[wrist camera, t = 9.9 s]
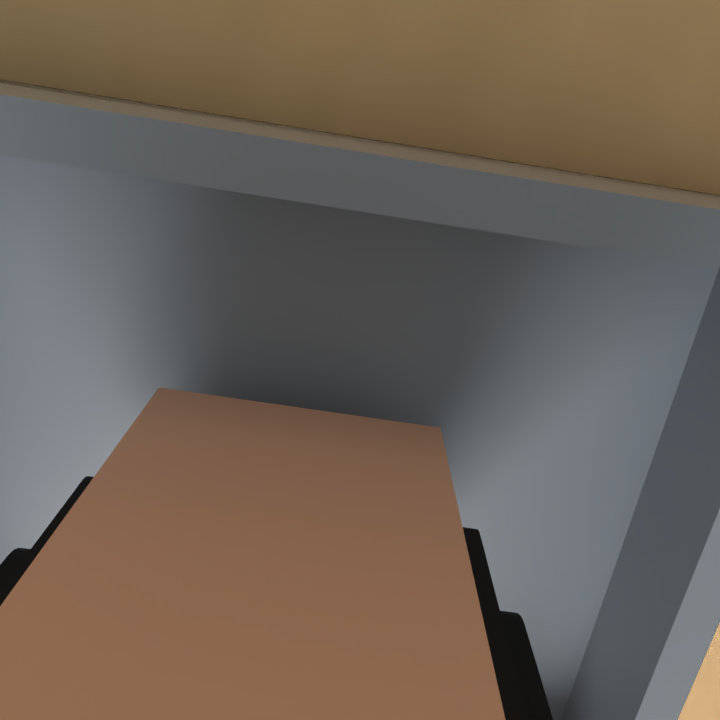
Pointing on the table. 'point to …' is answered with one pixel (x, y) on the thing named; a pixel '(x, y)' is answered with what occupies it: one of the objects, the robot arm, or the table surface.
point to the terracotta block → (254, 577)
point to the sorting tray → (389, 348)
